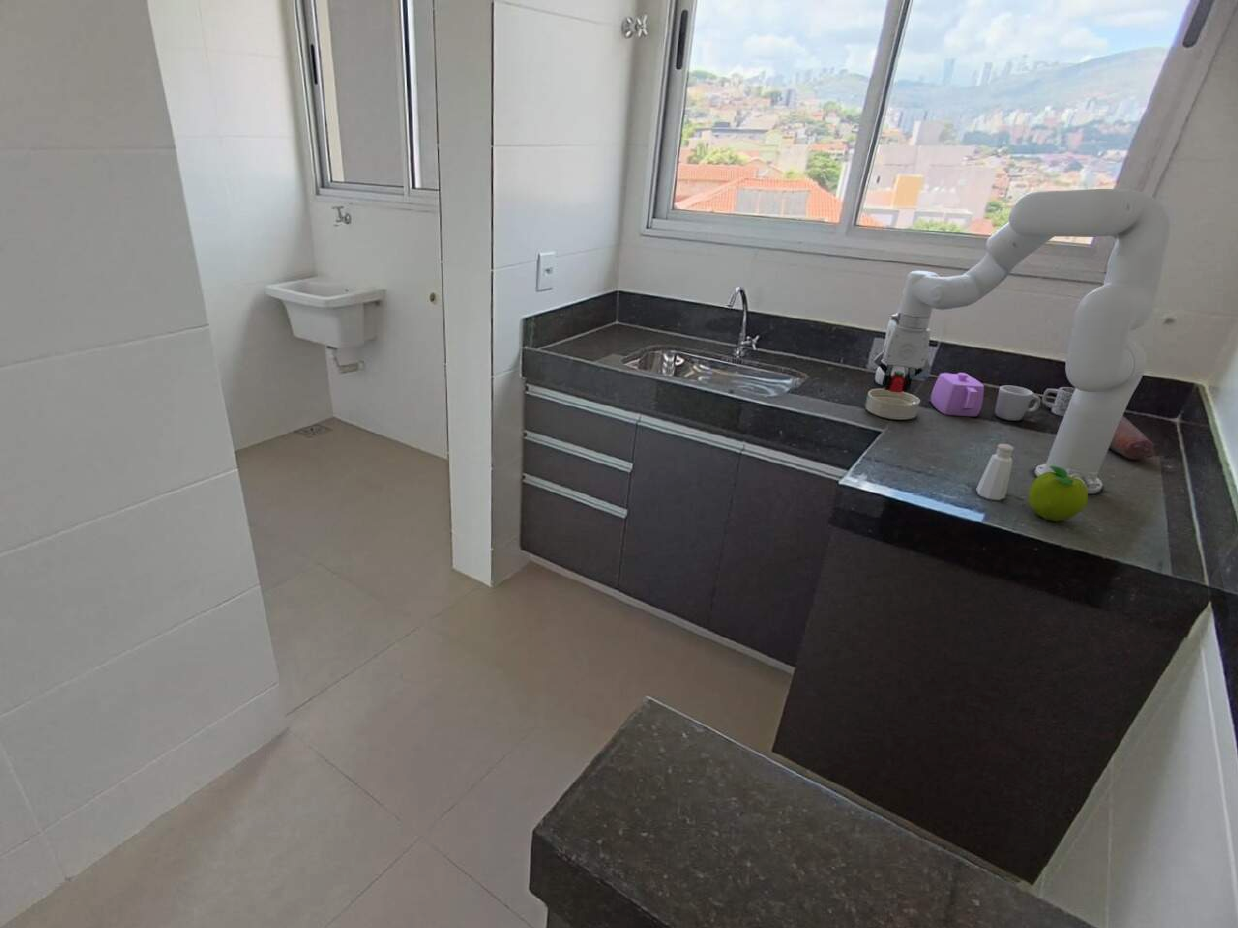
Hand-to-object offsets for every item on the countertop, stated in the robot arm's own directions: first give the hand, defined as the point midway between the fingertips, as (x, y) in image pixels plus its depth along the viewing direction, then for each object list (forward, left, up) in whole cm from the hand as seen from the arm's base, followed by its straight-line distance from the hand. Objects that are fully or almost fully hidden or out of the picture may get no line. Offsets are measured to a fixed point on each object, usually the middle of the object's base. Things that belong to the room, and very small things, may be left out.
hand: (895, 389), depth 175 cm
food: (-5, -51, -7) cm, 52 cm away
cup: (+8, -33, -7) cm, 35 cm away
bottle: (+27, -3, -7) cm, 28 cm away
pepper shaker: (-44, -14, -7) cm, 47 cm away
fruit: (-51, -23, -7) cm, 56 cm away
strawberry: (0, 0, 0) cm, 0 cm away
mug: (+19, -48, -7) cm, 52 cm away
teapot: (+10, -18, -7) cm, 22 cm away
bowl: (0, 0, -7) cm, 7 cm away
